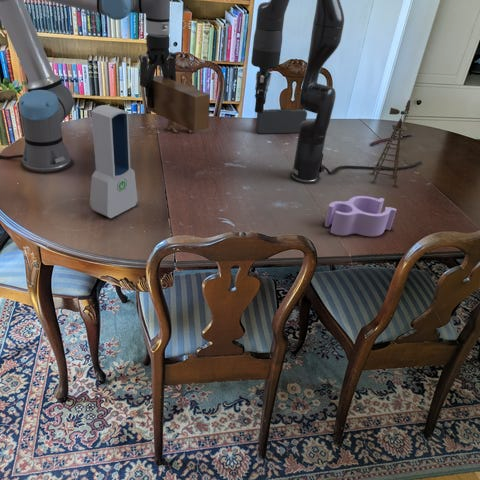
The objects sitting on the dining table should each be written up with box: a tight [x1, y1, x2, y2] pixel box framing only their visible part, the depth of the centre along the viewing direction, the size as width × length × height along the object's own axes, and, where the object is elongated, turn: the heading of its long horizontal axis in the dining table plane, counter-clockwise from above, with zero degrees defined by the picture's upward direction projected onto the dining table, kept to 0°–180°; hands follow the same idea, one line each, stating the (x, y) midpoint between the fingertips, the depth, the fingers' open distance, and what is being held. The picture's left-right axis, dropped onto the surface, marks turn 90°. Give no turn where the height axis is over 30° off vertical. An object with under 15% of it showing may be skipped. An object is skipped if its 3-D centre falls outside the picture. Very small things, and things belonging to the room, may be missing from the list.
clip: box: [324, 195, 398, 237], centre depth 141 cm, size 20×12×7 cm, turn 109°
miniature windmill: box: [371, 99, 411, 187], centre depth 166 cm, size 9×8×30 cm
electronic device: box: [89, 104, 139, 219], centre depth 131 cm, size 12×8×30 cm, turn 148°
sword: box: [370, 134, 411, 146], centre depth 212 cm, size 31×3×1 cm, turn 126°
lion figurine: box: [163, 119, 193, 133], centre depth 195 cm, size 15×5×9 cm, turn 110°
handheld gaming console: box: [255, 108, 308, 134], centre depth 205 cm, size 23×3×10 cm, turn 108°
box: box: [146, 74, 211, 132], centre depth 156 cm, size 26×6×11 cm, turn 45°
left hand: (158, 105), depth 164 cm, fingers closed on box, 6 cm apart
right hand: (260, 107), depth 132 cm, fingers open, 8 cm apart
